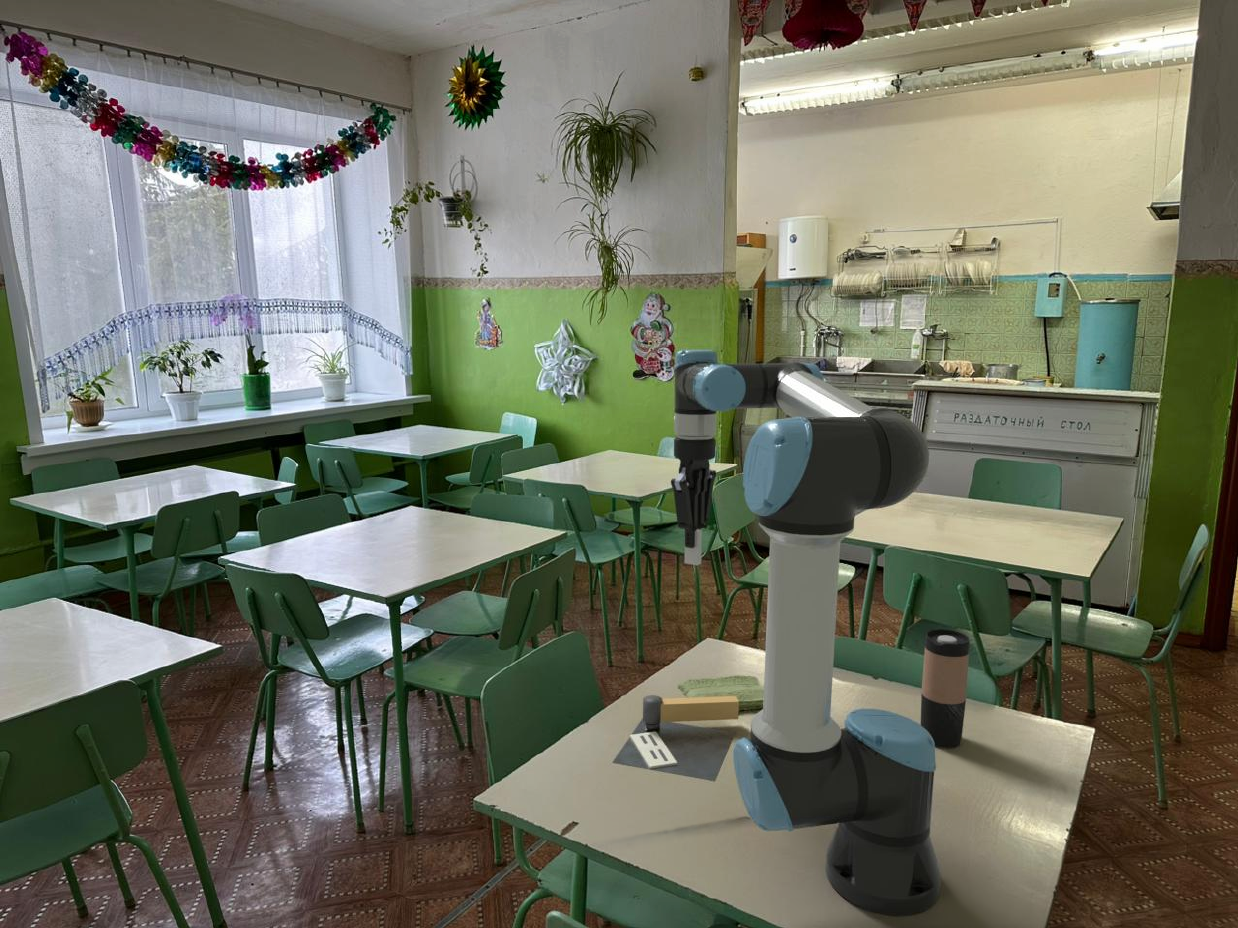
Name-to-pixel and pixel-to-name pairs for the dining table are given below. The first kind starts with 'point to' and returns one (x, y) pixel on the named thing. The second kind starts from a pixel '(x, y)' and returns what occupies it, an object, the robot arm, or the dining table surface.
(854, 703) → the dining table surface
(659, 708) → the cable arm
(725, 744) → the chassis plate
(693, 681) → the washcloth
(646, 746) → the label
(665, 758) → the label
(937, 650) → the travel mug
